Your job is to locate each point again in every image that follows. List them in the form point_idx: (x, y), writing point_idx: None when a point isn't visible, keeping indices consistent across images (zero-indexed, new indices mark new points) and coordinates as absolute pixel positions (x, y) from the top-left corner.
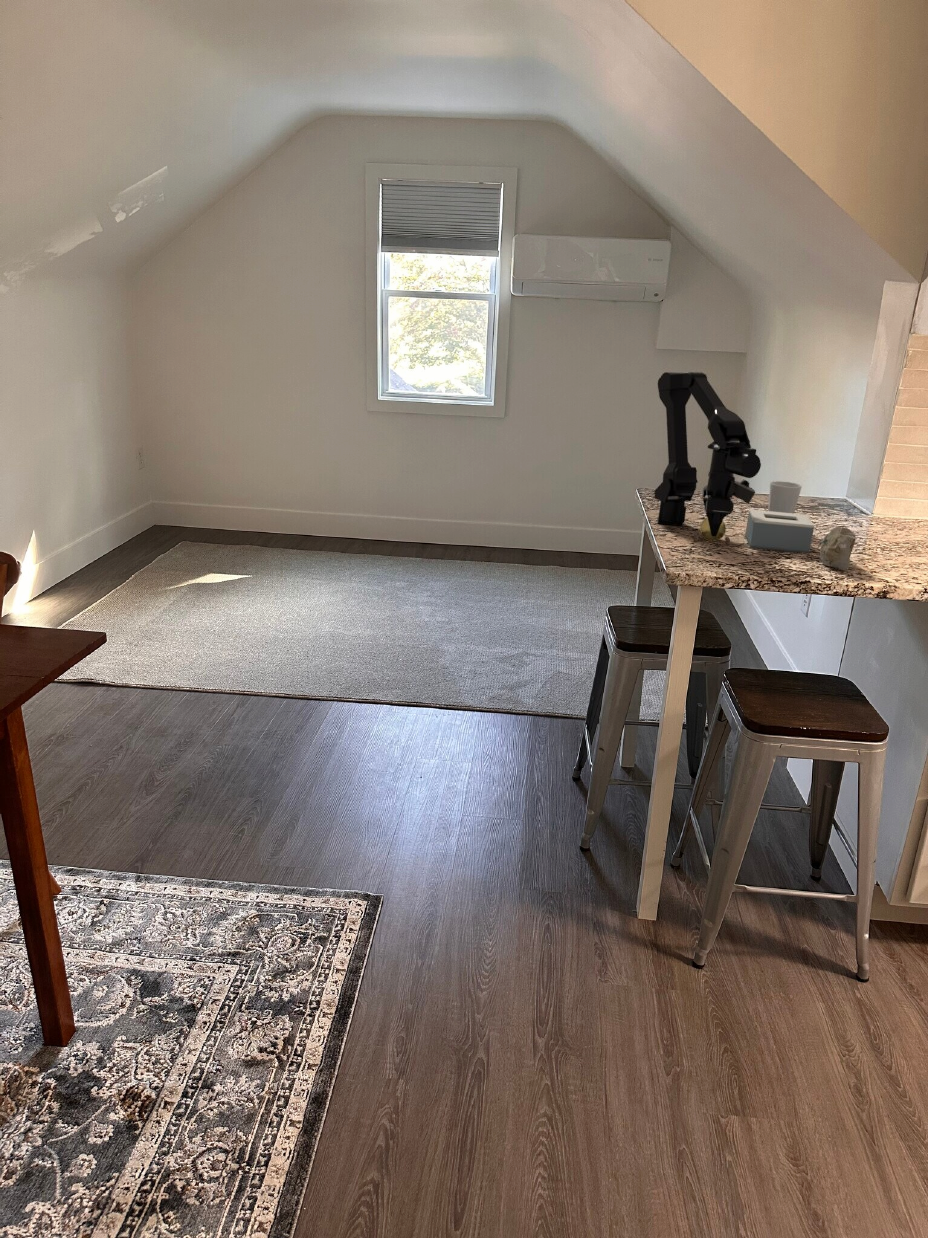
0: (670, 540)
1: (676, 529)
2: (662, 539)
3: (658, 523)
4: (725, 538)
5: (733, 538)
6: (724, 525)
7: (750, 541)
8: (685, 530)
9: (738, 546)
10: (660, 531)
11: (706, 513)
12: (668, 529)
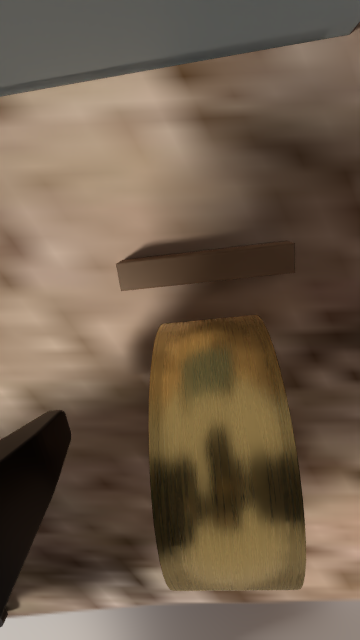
0: (339, 569)
1: (59, 546)
2: (332, 598)
3: (6, 614)
4: (159, 283)
5: (64, 217)
6: (274, 367)
7: (341, 4)
8: (49, 509)
9: (338, 160)
10: (157, 603)
11: (6, 597)
12: (87, 576)
